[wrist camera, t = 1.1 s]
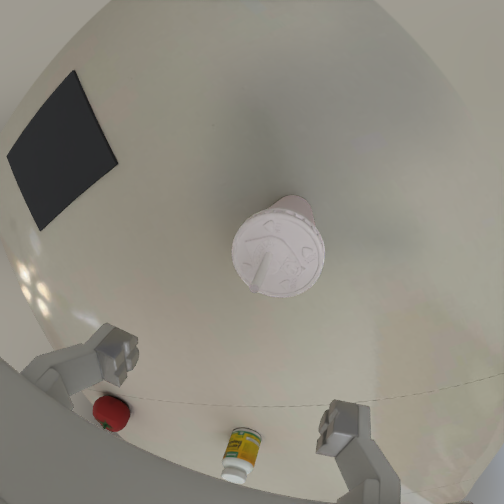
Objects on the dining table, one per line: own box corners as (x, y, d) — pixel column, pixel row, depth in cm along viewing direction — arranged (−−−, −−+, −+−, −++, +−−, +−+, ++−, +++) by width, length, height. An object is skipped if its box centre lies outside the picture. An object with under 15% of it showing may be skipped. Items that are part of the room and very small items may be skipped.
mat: (74, 70, 27) (72, 70, 27) (118, 163, 31) (116, 164, 31) (8, 155, 35) (6, 156, 34) (41, 230, 39) (39, 231, 38)
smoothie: (278, 168, 27) (234, 216, 15) (339, 202, 27) (346, 278, 15) (249, 224, 31) (193, 305, 18) (305, 256, 30) (285, 354, 18)
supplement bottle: (248, 444, 49) (235, 486, 40) (226, 431, 48) (210, 474, 40) (268, 438, 46) (255, 483, 38) (245, 424, 46) (230, 470, 37)
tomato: (134, 403, 52) (117, 429, 46) (135, 420, 56) (120, 443, 50) (101, 384, 53) (83, 408, 46) (104, 403, 57) (88, 425, 50)
